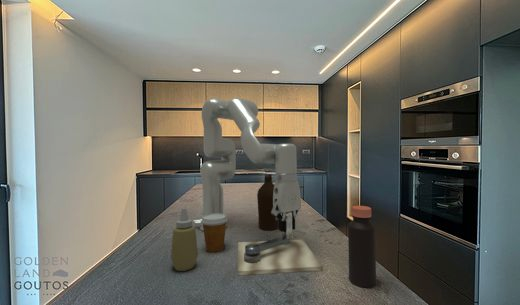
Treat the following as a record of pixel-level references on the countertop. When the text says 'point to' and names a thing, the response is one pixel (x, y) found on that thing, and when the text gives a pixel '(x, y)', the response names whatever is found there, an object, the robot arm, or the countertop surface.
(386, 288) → the countertop surface
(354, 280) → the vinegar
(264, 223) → the olive oil
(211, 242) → the disposable coffee cup
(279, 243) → the lever
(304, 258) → the lever board
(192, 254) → the squeeze bottle
